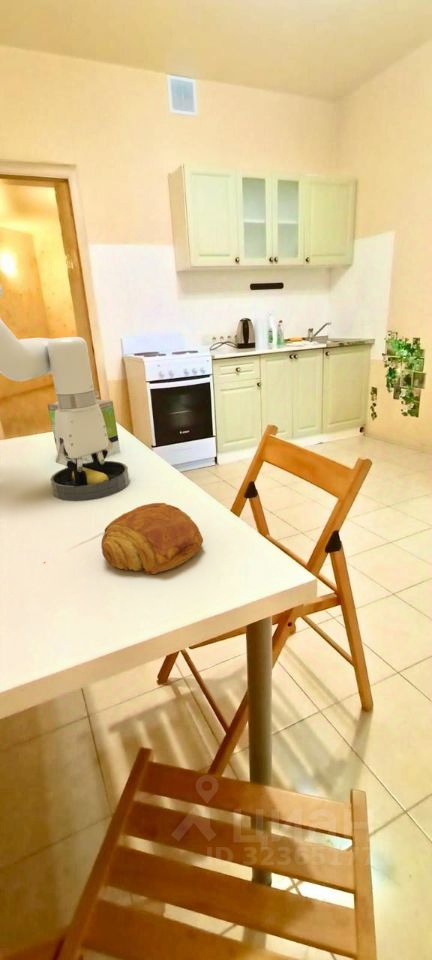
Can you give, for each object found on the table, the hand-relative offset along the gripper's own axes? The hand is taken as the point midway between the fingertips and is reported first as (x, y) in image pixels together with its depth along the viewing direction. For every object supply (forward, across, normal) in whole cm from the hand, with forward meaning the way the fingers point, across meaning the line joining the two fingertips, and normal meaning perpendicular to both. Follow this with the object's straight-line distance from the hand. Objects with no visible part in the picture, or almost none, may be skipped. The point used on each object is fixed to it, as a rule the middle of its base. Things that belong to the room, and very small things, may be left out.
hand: (90, 483), depth 98 cm
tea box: (+1, -15, -22) cm, 26 cm away
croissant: (+1, +11, +33) cm, 35 cm away
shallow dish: (+1, 0, 0) cm, 1 cm away
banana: (0, 0, 0) cm, 0 cm away
